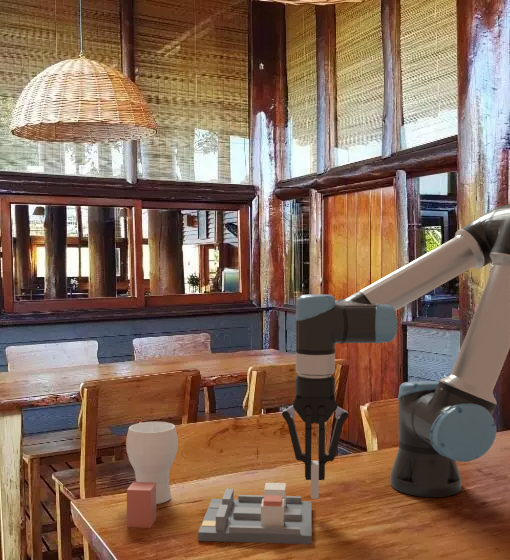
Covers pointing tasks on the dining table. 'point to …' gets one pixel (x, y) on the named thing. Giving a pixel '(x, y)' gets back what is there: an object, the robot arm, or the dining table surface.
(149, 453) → the cup
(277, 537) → the panel
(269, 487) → the block
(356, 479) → the dining table surface
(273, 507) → the block
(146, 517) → the cap
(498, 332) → the robot arm
